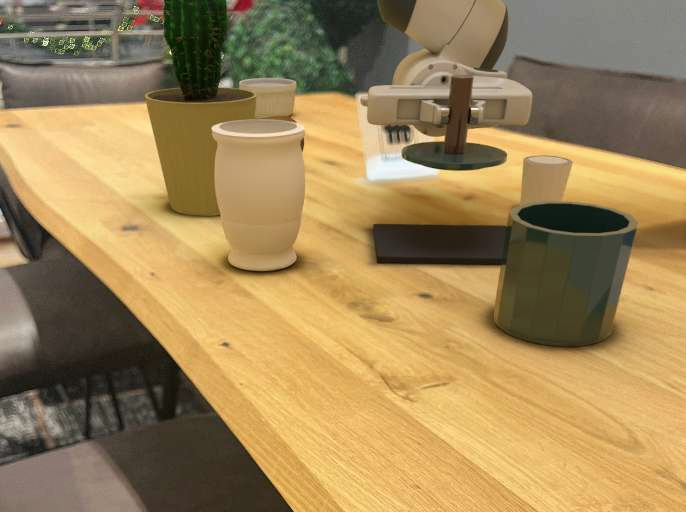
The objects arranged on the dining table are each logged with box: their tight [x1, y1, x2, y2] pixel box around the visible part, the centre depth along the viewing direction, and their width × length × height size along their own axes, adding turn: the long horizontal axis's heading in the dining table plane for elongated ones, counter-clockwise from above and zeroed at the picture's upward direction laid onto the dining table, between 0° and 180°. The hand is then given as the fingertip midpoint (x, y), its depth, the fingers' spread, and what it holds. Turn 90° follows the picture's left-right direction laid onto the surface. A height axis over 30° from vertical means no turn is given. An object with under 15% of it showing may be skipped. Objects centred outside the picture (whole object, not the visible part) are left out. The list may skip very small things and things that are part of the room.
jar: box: [212, 119, 306, 272], centre depth 89 cm, size 11×10×15 cm
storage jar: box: [493, 200, 639, 348], centre depth 75 cm, size 12×12×10 cm
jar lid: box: [401, 75, 508, 172], centre depth 90 cm, size 13×13×9 cm
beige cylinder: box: [519, 154, 574, 206], centre depth 111 cm, size 7×7×7 cm
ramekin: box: [238, 77, 297, 118], centre depth 176 cm, size 13×13×7 cm
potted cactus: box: [144, 0, 257, 217], centre depth 105 cm, size 15×15×30 cm
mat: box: [372, 223, 507, 266], centre depth 98 cm, size 18×14×1 cm
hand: (460, 116), depth 89 cm, fingers closed on jar lid, 2 cm apart
